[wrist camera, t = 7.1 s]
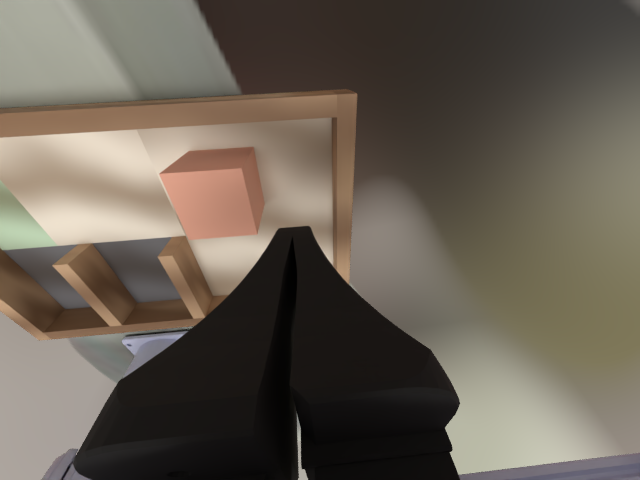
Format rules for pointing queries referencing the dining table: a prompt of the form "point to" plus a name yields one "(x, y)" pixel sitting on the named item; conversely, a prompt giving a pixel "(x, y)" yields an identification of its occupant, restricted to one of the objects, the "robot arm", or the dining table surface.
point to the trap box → (157, 205)
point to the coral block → (216, 192)
